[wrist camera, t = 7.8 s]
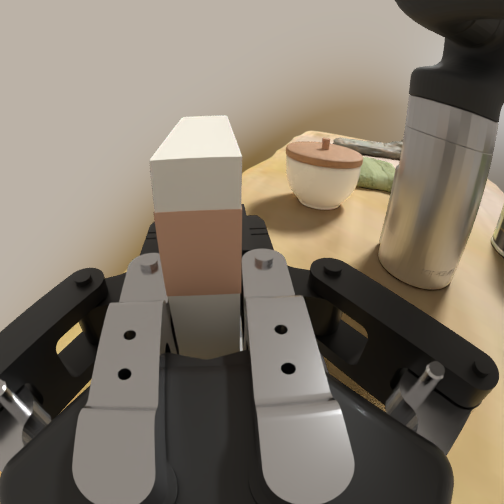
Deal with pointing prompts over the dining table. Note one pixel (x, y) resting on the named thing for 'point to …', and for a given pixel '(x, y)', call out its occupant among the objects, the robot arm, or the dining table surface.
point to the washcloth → (376, 174)
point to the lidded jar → (322, 173)
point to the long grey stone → (372, 147)
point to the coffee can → (499, 234)
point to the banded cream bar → (200, 233)
